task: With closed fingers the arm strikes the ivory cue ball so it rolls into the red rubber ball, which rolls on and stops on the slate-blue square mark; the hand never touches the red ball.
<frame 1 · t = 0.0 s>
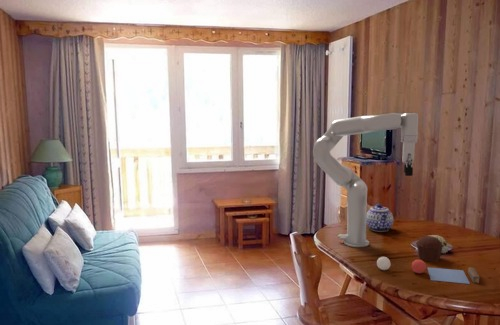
hand: (408, 174, 201), 37 cm above the table, tool pointing down, fingers open, 9 cm apart
seashell: (434, 250, 201), on the table
cue ball: (383, 263, 177), on the table
red ball: (418, 266, 173), on the table
teapot: (379, 229, 238), on the table
stopper wall: (473, 277, 167), on the table
muffin: (428, 258, 190), on the table
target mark: (447, 275, 170), on the table
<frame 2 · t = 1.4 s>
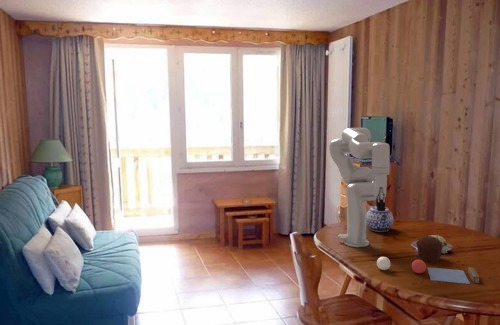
hand: (380, 208, 185), 24 cm above the table, tool pointing down, fingers open, 9 cm apart
nothing on the table moved.
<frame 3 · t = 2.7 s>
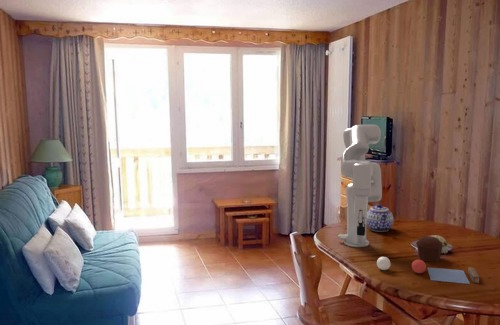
hand: (361, 233, 178), 15 cm above the table, tool pointing down, fingers open, 3 cm apart
nothing on the table moved.
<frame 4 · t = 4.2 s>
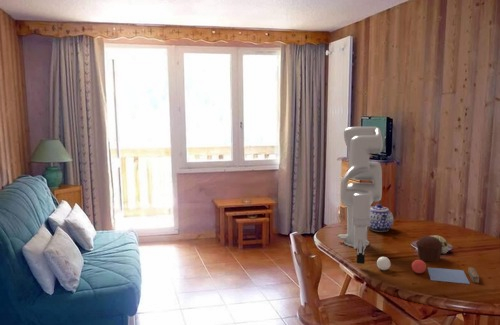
hand: (360, 262, 180), 2 cm above the table, tool pointing down, fingers closed
nothing on the table moved.
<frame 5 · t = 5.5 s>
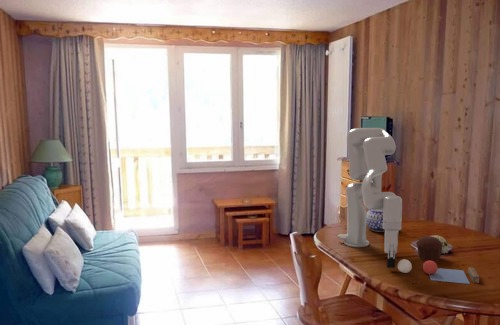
hand: (390, 266, 176), 2 cm above the table, tool pointing down, fingers closed
cue ball: (404, 266, 173), on the table
red ball: (430, 267, 172), on the table
everything else where it was.
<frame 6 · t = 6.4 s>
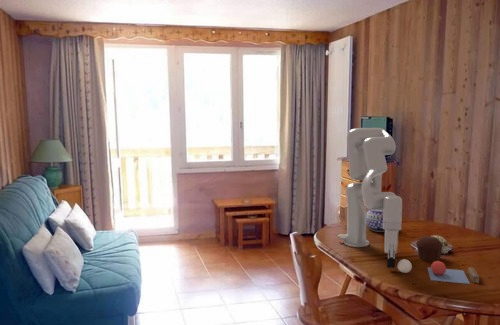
hand: (390, 266, 176), 2 cm above the table, tool pointing down, fingers closed
red ball: (438, 268, 171), on the table
everything else where it was.
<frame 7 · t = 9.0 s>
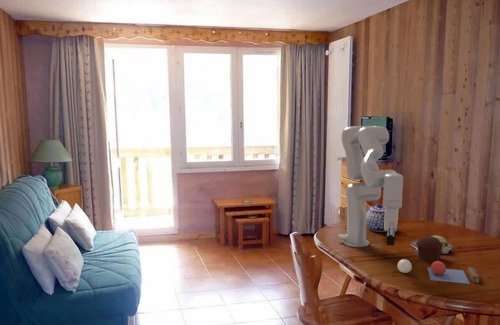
hand: (390, 244, 176), 11 cm above the table, tool pointing down, fingers closed
nothing on the table moved.
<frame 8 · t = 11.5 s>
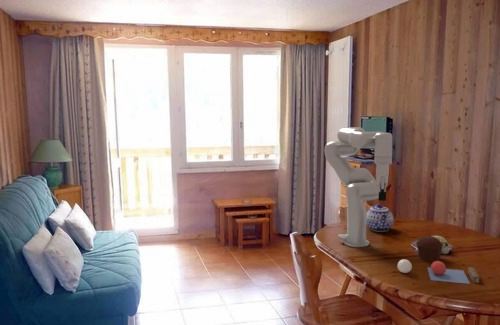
hand: (382, 200, 189), 27 cm above the table, tool pointing down, fingers closed
nothing on the table moved.
at the end: red ball 3.5 cm from the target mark (horizontally); red ball never touched the robot; cue ball first touched red ball at 5.0 s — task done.
